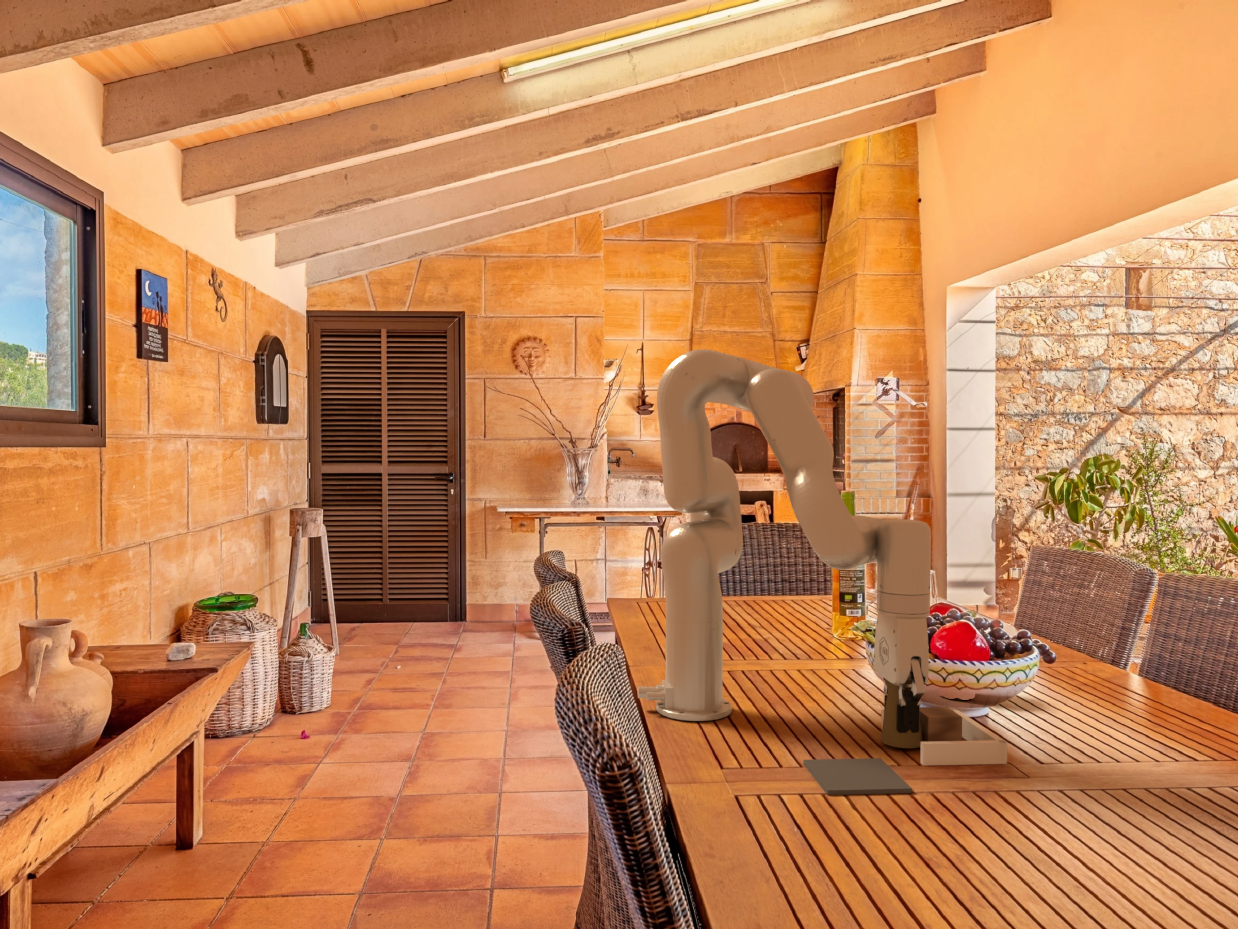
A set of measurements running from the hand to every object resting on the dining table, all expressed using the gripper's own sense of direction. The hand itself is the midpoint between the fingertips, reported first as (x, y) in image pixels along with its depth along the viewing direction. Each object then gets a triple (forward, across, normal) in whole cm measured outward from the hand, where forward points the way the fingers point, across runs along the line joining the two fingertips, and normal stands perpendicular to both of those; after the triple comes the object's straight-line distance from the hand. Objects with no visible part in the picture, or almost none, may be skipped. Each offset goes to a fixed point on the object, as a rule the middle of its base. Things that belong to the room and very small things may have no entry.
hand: (901, 725), depth 130 cm
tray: (+3, 0, +6) cm, 6 cm away
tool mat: (+3, +12, -11) cm, 17 cm away
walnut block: (+3, 0, +6) cm, 6 cm away
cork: (+2, 0, 0) cm, 3 cm away
